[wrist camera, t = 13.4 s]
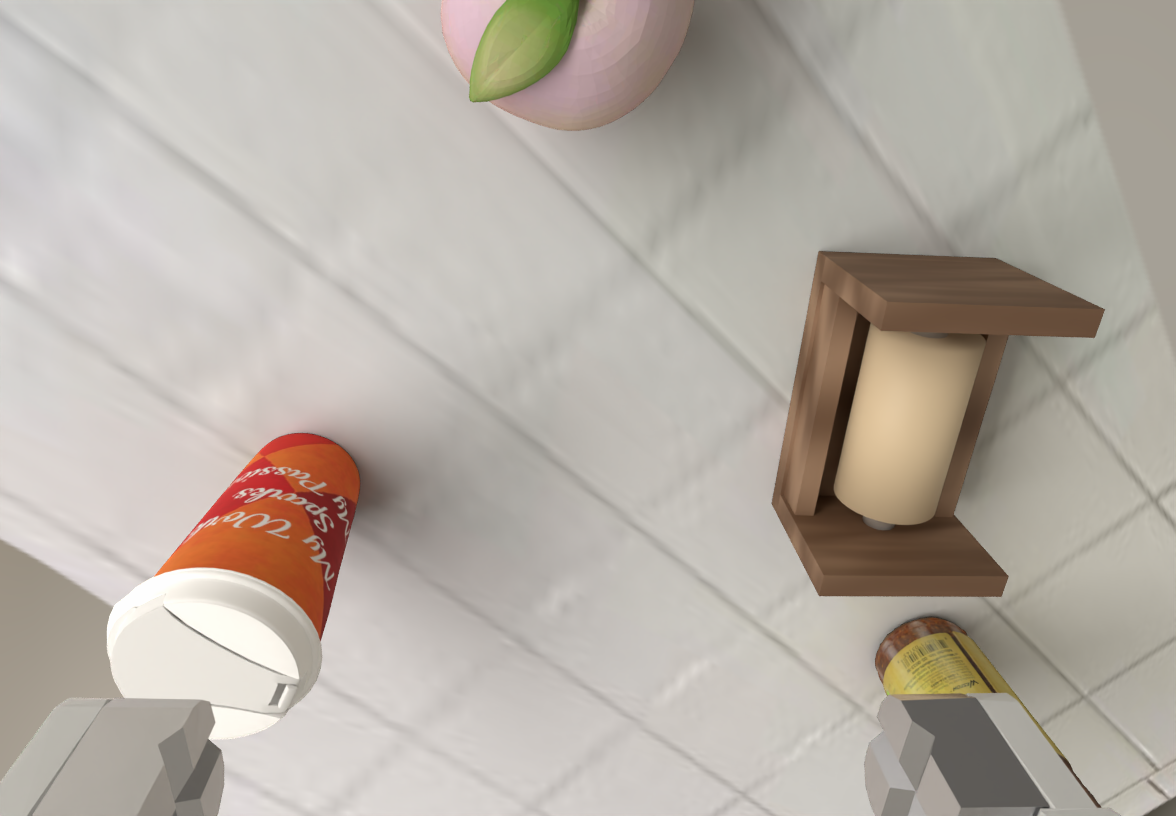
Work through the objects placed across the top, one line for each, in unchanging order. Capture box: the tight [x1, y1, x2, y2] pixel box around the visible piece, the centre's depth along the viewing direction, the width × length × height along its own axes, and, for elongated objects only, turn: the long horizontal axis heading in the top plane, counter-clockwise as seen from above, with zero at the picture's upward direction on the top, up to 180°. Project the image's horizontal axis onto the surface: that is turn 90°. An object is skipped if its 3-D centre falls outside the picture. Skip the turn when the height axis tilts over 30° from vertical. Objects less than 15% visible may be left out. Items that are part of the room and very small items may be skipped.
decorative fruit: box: [441, 0, 694, 131], centre depth 27 cm, size 9×8×10 cm
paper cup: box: [107, 433, 360, 739], centre depth 34 cm, size 8×8×14 cm
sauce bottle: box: [875, 617, 1101, 808], centre depth 40 cm, size 6×6×20 cm
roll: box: [834, 323, 986, 525], centre depth 37 cm, size 9×5×5 cm, turn 177°
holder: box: [772, 251, 1105, 597], centre depth 37 cm, size 14×9×8 cm, turn 177°
